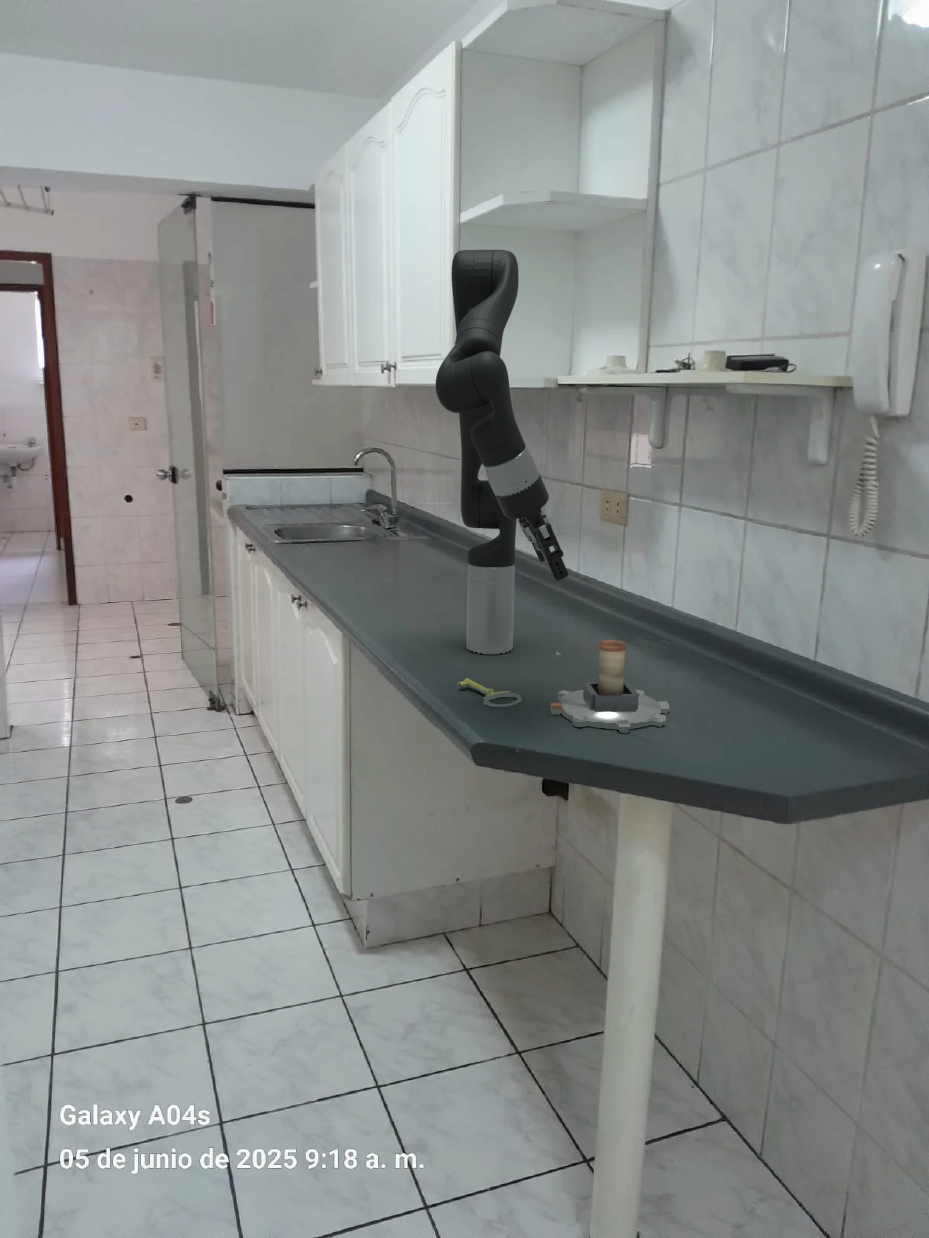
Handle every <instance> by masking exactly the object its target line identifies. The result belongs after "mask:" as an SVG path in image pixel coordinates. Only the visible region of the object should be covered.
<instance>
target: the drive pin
mask: <svg viewBox="0 0 929 1238" xmlns="http://www.w3.org/2000/svg"><path fill="white" fill-rule="evenodd" d="M626 650H627V643H626V642H625V641H622V640H615V639H607V640H601V641H600V642H599V655H598V657H599V660H598V677H597V679H598V680H597V682H598V694H623V684H624V681H625V665H626V664H625V663H626V662H625V661H626Z"/></svg>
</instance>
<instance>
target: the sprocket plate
mask: <svg viewBox="0 0 929 1238" xmlns="http://www.w3.org/2000/svg"><path fill="white" fill-rule="evenodd" d="M558 697H559V698H561V699H560V701H559V702H550V707H551V708H552V709H561V710H562V711H564V712H565V713H567V714H568V715H571V716H573V721H575V722H585V721H591V722H604V723H616V724H618V726H619V727H630V724H631V723H639V722H647V721H651V720H652V721H655V722H663V721H665V722H666V720H667V719H666V718H667V716H666V715H665V714H660V713H661V709H669V710H670V704H669V702H667V701H658V700H656V699H654V698H652V697H650V696H648V695H646V694H645V691H644V690H640V689H635V687H634V686H633V685H632V684H631V683H628V682H626V681H625V680H624V684H623V694H598V681H585V683H583V689H578V690H575V691H568V690H564V689H562V690H561V691H559V692H558V693H557V698H558ZM550 707H549V708H550Z"/></svg>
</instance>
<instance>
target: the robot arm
mask: <svg viewBox="0 0 929 1238" xmlns="http://www.w3.org/2000/svg"><path fill="white" fill-rule="evenodd" d="M450 276H451V291H452V302H453V311H454V312H453V314H454V322H455V331H456V337H455V342H454V346H453V347H452V348H451V350H450V351H449V352H448V354H447V355H446V356H445V358H444V359H443V360H442V362H441V364H440V366H439V368H438V371H437V373H436V378H435V392H436V396H437V397H436V398H438V401H439V403H440V404H441V406H443V408H445V410H447V411H449V412H451V413H454V414H458V415H459V416H458V417H459V418H458V419H459V429H460V430H459V431H460V444H461V446H460V448H461V467H460V468H461V472H460V477H461V478H460V514H461V519H462V523H463V524H464V526H466V527H467V528H471V529H482V530H483V529H485V530H486V529H487V530H498V531H499V533H498V535H497V536H496V537H494V538H493V539H491V540H488V541H487V542H484V543H481V544H478V545H474V546H472V547H470V548H469V550H468V551H467V588H466V589H467V592H466V593H467V594H466V596H467V598H466V599H467V600H466V639H465V641H466V643H465V645H466V647H467V648H466V650H467V649H468V650H467V651H469V650H471V651H473V652H472V653H475V652H477V653H476V654H480V653H482V655H500V653H502V654H506V652H507V653H510V652H511V651H513V649H512V648H514V647H513V646H514V645H513V644H514V643H513V642H514V640H513V639H514V617H515V616H514V615H515V614H514V613H515V606H514V605H515V579H516V578H515V575H516V574H515V571H516V570H515V568H516V537H517V536H516V535H517V534H516V533H517V523H518V525H519V526H520V528H521V530H522V532H523V534H524V536H525V538H527V540H528V541H529V542H530V543H531V545H532V547H533V549H534V551H535V553H536V556H537V558H538V560H539V561H540V562H541V563H543V562H547V563H546V564H548V566H549V570H550V571H551V574H552V576H553V578H554V580H555V581H559V582H560V581H561V580H563V579H565V578H567V577H568V575H569V572H568V569H567V567H566V565H565V563H564V560H563V557H564V556H565V555H564V552H563V550H562V548H561V545H560V544H559V542H558V539H557V536H556V535H555V532H554V530H553V528H552V524H551V523H550V519H549V518H548V516H547V515H546V514H544V513H543V510H542V508H543V507H544V506H545V505H547V503H548V502H549V498H550V497H549V496H550V495H549V493H548V490H547V488H546V485H545V483H544V481H543V478H542V476H541V474H540V471H539V469H538V466H537V464H536V461H535V460H534V457H533V455H532V454H531V452H530V451H529V448H527V447H528V446H527V445H526V443H525V440H524V438H523V436H522V433H521V431H520V429H519V427H518V424H517V421H516V417H515V413H514V410H513V409H514V408H513V404H512V398H511V389H510V381H509V371H508V368H507V365H506V363H505V361H504V360H503V359H502V357H501V352H502V345H503V343H502V342H503V336H504V331H505V328H506V326H507V324H508V322H509V320H510V316H511V314H512V312H513V309H514V306H515V303H516V302H517V301H516V300H517V297H518V292H519V291H518V290H519V283H520V282H519V263H518V259H517V257H516V255H515V254H514V253H513V252H512V251H510V250H505V249H463V250H461V249H460V250H459V251H457V252H456V253H455V254H454V256H453V259H452V262H451V275H450ZM482 465H483V468H484V471H485V475H486V478H487V480H485V479H483V480H481V479H479V472H480V469H481V467H482ZM517 520H518V521H517ZM551 547H553V549H554V550H553V551H551V550H550V548H551ZM510 650H511V651H510ZM471 651H470V652H471ZM509 651H510V652H509Z"/></svg>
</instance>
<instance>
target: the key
mask: <svg viewBox="0 0 929 1238" xmlns="http://www.w3.org/2000/svg"><path fill="white" fill-rule="evenodd" d="M457 684H460V685H461V686H463V685H470V686H472V687H474V688H478V689H480V690H482V691H486V693H489V692H490V693H491V694H488V695H486V697H487V696H489V695H495V694H500V693H505V692H510V690H508V691H507V690H506V691H505V690H504V691H503V690H501V691H495V689H493V688H486V687H485V686H483V685H481V684H480V683H478V682H476V681H474V680H472V679H470V678H468V677H466V678H464V680H463V681H459V682H457V683H456V685H457ZM460 685H459V686H460ZM463 687H464V686H463ZM493 691H495V692H493ZM486 697H485V696H484V697H483V699H484V698H486Z"/></svg>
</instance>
